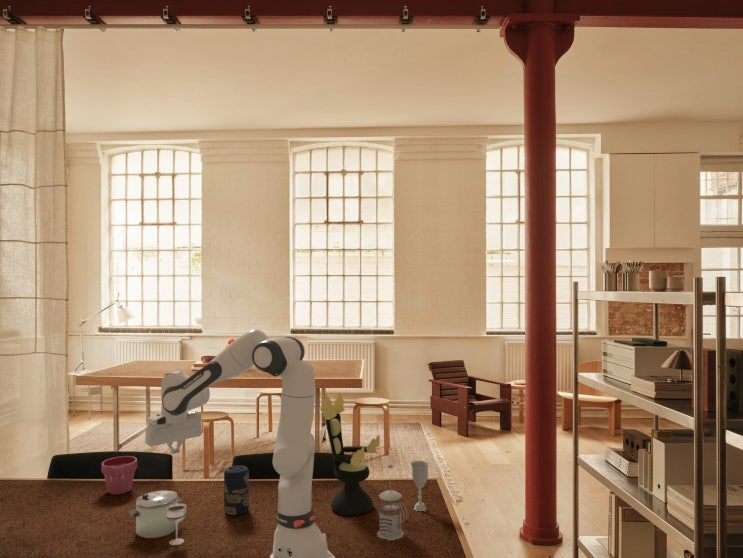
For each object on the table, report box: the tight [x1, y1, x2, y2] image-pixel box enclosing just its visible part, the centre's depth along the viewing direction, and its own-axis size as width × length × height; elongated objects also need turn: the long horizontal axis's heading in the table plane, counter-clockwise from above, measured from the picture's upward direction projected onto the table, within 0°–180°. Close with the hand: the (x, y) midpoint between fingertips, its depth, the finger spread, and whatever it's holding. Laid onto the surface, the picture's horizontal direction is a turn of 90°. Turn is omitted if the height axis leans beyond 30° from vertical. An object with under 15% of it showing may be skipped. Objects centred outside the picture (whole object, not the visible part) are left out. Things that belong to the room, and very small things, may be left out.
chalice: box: [410, 460, 430, 512], centre depth 222 cm, size 7×7×18 cm
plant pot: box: [101, 455, 138, 495], centre depth 242 cm, size 14×14×13 cm
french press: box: [376, 463, 408, 541], centre depth 200 cm, size 10×12×25 cm
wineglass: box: [166, 502, 188, 546], centre depth 196 cm, size 7×7×12 cm
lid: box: [135, 490, 178, 507], centre depth 205 cm, size 14×14×2 cm
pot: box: [129, 497, 184, 539], centre depth 205 cm, size 14×18×10 cm
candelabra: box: [320, 392, 381, 516], centre depth 224 cm, size 19×22×45 cm
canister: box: [223, 464, 250, 516], centre depth 220 cm, size 10×10×18 cm
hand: (174, 453), depth 207 cm, fingers closed
